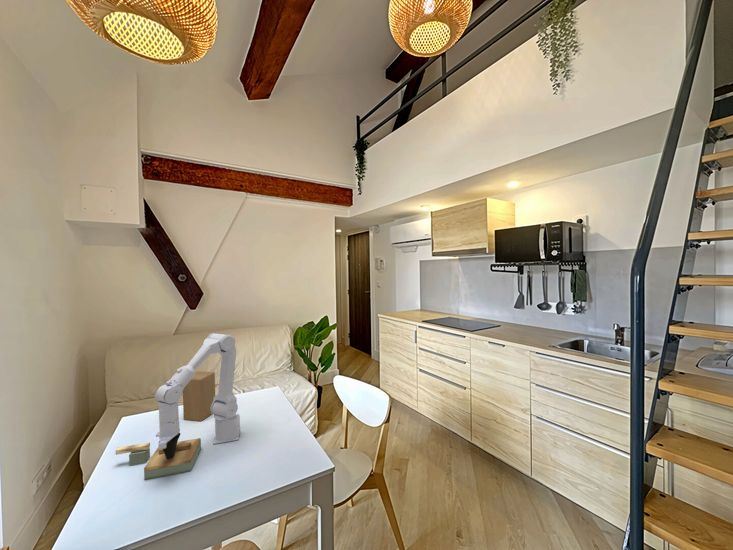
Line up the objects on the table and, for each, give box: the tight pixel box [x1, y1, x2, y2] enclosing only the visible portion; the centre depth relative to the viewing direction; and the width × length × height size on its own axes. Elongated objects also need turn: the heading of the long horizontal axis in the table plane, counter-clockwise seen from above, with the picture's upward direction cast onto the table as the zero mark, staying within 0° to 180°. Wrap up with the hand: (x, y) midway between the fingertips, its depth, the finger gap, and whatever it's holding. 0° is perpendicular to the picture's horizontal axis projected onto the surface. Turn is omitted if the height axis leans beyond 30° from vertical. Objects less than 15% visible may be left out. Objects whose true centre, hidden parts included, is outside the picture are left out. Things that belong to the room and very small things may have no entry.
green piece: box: [143, 440, 202, 481], centre depth 109 cm, size 14×14×3 cm
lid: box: [143, 437, 202, 472], centre depth 109 cm, size 14×14×2 cm
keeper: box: [128, 446, 151, 467], centre depth 110 cm, size 5×4×4 cm
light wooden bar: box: [115, 442, 151, 455], centre depth 109 cm, size 10×2×2 cm, turn 107°
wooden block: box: [182, 370, 216, 422], centre depth 144 cm, size 10×10×20 cm
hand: (170, 457), depth 104 cm, fingers closed
